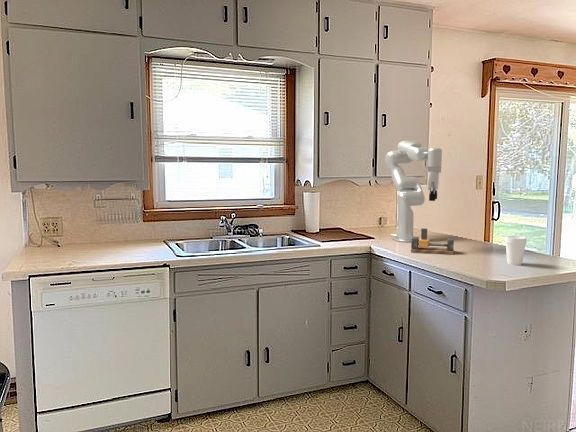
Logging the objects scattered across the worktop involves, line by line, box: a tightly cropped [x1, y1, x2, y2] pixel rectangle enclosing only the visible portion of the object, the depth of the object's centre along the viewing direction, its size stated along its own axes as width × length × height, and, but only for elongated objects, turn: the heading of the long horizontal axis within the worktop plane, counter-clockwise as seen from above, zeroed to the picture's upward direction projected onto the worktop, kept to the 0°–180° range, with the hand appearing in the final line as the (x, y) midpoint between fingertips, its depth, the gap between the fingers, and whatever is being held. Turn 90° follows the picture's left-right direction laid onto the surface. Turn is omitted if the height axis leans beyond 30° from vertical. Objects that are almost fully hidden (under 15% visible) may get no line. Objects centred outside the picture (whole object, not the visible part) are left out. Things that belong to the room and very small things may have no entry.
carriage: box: [418, 227, 430, 248], centre depth 266 cm, size 5×7×10 cm
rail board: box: [410, 236, 455, 256], centre depth 265 cm, size 22×12×8 cm, turn 69°
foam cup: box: [504, 235, 527, 266], centre depth 231 cm, size 10×9×13 cm
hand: (433, 199), depth 272 cm, fingers open, 9 cm apart
